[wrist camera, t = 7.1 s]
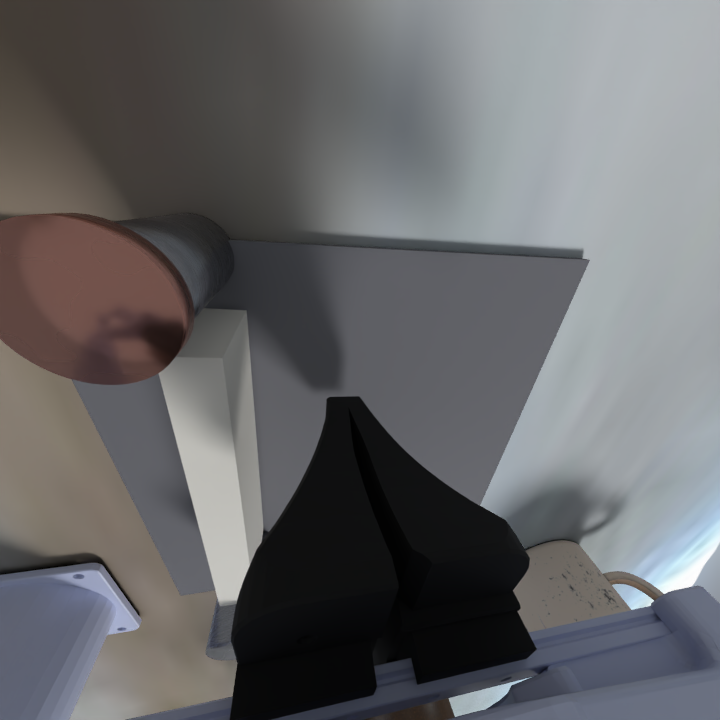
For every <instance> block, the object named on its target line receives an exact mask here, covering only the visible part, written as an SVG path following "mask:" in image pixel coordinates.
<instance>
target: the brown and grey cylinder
mask: <svg viewBox="0 0 720 720" xmlns="http://www.w3.org/2000/svg"><path fill="white" fill-rule="evenodd" d="M229 240H230V238H229V237H228V235H227V234H226V233H225V232H224V230H223V229H222V228H221V227H219V226H218V225H217V224H216V223H214V222H213V221H211V220H210V219H208V218H206V217H203V216H201V215H197V214H191V213H182V214H173V215H165V216H157V217H149V218H141V219H132V220H124V221H116V222H113V221H110V220H107V219H104V218H100V217H96V216H92V215H87V214H79V213H52V214H35V215H24V216H17V217H12V218H9V219H5V220H2V221H0V339H1V340H2V341H3V342H4V343H5V344H6V345H8V346H9V347H10V348H11V349H13V350H14V351H15V352H17V353H18V354H20V355H21V356H23V357H24V358H26V359H27V360H29V361H30V362H32V363H34V364H36V365H38V366H40V367H41V368H44V369H46V370H48V371H50V372H53V373H55V374H58V375H61V376H63V377H66V378H69V379H73V380H77V381H81V382H86V383H91V384H101V385H122V384H130V383H135V382H139V381H142V380H146V379H148V378H150V377H152V376H155V375H156V374H158V373H159V372H161V371H163V370H164V369H165V368H166V367H167V366H168V365H169V364H170V363H171V362H172V361H173V359H174V358H175V357H176V356H177V355H178V353H179V352H180V351H181V350H182V348H183V347H184V346H185V345H186V343H187V342H188V340H189V338H190V336H191V333H192V330H193V326H194V319H195V317H196V316H197V315H198V314H199V313H200V312H201V311H202V310H203V309H204V307H205V306H206V305H207V304H208V303H209V302H210V301H211V300H212V299H213V298H214V296H215V295H216V294H217V293H218V292H219V291H220V290H221V289H222V288H223V287H224V285H225V284H226V283H227V282H228V281H229V280H230V278H231V276H232V273H233V270H234V254H233V250H232V247H231V245H230V243H229Z"/></svg>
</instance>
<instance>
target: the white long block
mask: <svg viewBox="0 0 720 720" xmlns="http://www.w3.org/2000/svg"><path fill="white" fill-rule="evenodd" d="M159 377H160V381H161V385H162V389H163V392H164V396H165V400H166V404H167V408H168V411H169V415H170V419H171V423H172V427H173V430H174V434H175V438H176V442H177V446H178V449H179V453H180V457H181V461H182V465H183V468H184V472H185V476H186V480H187V484H188V487H189V491H190V495H191V499H192V503H193V506H194V510H195V514H196V518H197V522H198V526H199V529H200V533H201V537H202V541H203V545H204V548H205V552H206V556H207V560H208V564H209V567H210V571H211V575H212V579H213V583H214V586H215V590H216V594H217V598H218V602H219V605H220V606H227V605H233V604H236V603H237V599H238V596H239V592H240V589H241V586H242V584H243V581H244V578H245V576H246V573H247V571H248V568H249V566H250V564H251V561H252V559H253V557H254V554H255V552H256V550H257V548H258V547H259V545H260V544H261V542H262V535H263V514H262V501H261V488H260V476H259V463H258V450H257V437H256V425H255V412H254V399H253V386H252V373H251V361H250V348H249V335H248V322H247V310H230V309H211V308H204V309H203V310H202V311H201V312H200V313H199V314H198V315H197V316H196V317H195V319H194V326H193V330H192V333H191V336H190V338H189V340H188V342H187V343H186V345H185V346H184V347H183V348H182V350H181V351H180V352H179V353H178V355H177V356H176V357H175V358H174V359H173V361H172V362H171V363H170V364H169V365H168V366H167V367H166V368H165V369H164V370H163V371H161V372H159Z"/></svg>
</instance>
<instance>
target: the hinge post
mask: <svg viewBox="0 0 720 720" xmlns="http://www.w3.org/2000/svg"><path fill="white" fill-rule="evenodd" d="M268 533H269V532H267V531H263V535H262V541H263V540H264V538H265V537H266V536H267V534H268ZM235 607H236V604H233V605H227V606H220V605H219V602H218V598H217V601H216V606H215V611H214V615H213V620H212V625H211V629H210V634H209V639H208V643H207V648H206V655H207V656H208V657H210V658H212V659H216V660H234V659H236V656H235V653H234V650H233V646H232V643H231V631H232V625H233V619H234V612H235Z"/></svg>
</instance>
